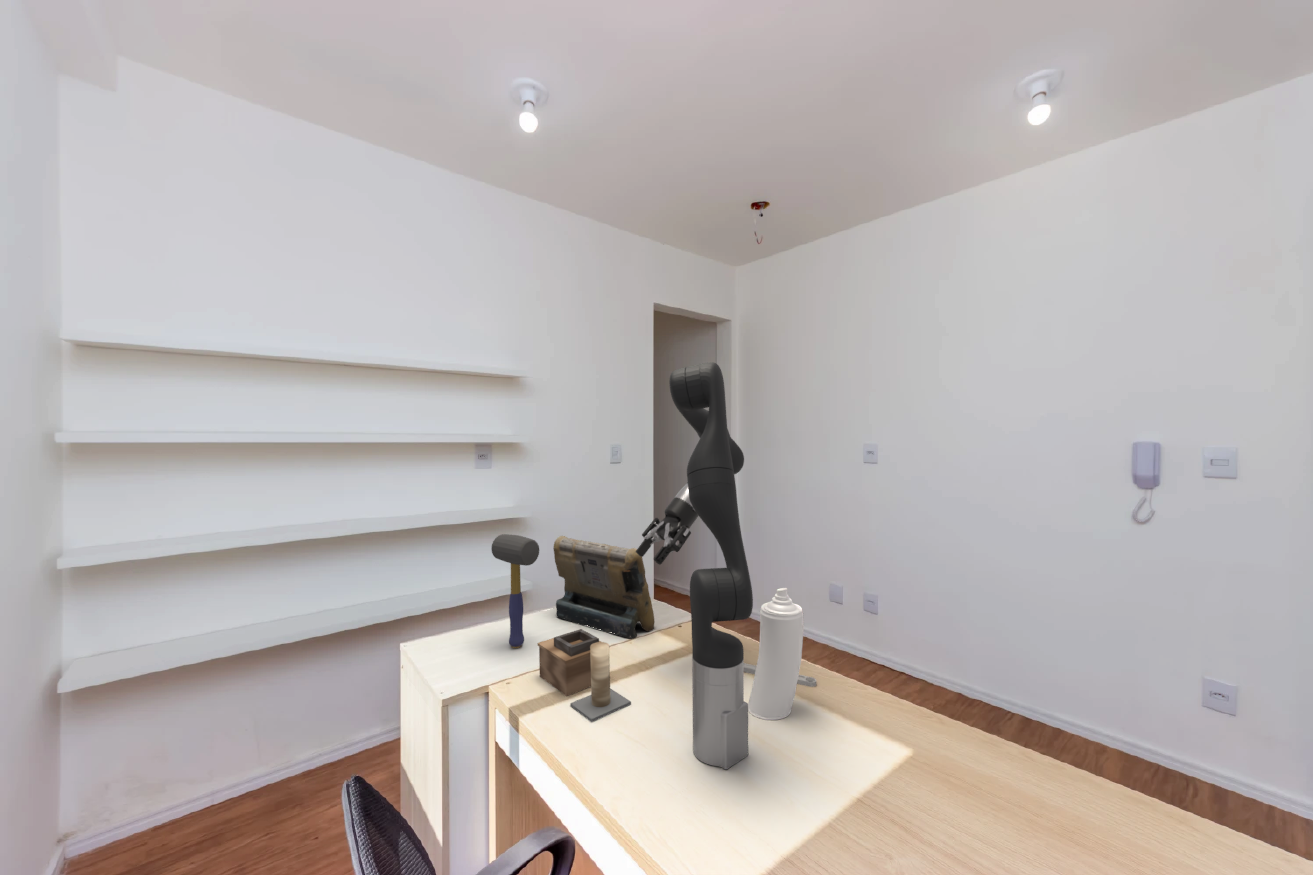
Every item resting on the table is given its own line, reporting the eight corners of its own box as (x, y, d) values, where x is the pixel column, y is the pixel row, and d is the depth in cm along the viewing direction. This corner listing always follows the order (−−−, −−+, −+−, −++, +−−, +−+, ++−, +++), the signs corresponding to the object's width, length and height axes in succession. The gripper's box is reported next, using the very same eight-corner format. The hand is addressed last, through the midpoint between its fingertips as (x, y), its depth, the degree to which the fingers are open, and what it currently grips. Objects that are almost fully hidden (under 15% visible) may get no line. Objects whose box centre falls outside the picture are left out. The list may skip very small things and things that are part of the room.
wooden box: (609, 679, 122) (608, 637, 122) (566, 697, 114) (565, 651, 114) (579, 661, 131) (579, 622, 131) (537, 676, 124) (537, 634, 124)
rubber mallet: (490, 645, 141) (488, 535, 140) (512, 636, 147) (511, 530, 146) (520, 657, 134) (519, 541, 133) (543, 647, 140) (541, 535, 139)
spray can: (760, 688, 118) (760, 577, 117) (808, 700, 112) (808, 584, 112) (741, 712, 108) (741, 592, 107) (792, 727, 102) (792, 601, 102)
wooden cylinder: (614, 701, 111) (613, 645, 111) (600, 709, 108) (599, 651, 108) (601, 695, 114) (599, 640, 114) (587, 702, 111) (586, 646, 111)
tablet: (661, 624, 155) (661, 540, 154) (636, 641, 143) (635, 551, 143) (575, 606, 172) (574, 530, 171) (546, 620, 160) (545, 538, 159)
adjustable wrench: (817, 684, 120) (817, 677, 120) (810, 697, 115) (810, 689, 115) (717, 659, 133) (717, 652, 133) (706, 669, 128) (706, 662, 127)
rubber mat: (631, 704, 111) (631, 701, 111) (591, 722, 105) (591, 719, 105) (608, 689, 117) (608, 687, 117) (570, 705, 111) (570, 703, 111)
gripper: (662, 493, 135) (623, 543, 129) (694, 499, 123) (652, 554, 117) (680, 511, 138) (642, 561, 132) (712, 519, 126) (673, 574, 120)
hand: (647, 558), depth 125 cm, fingers open, 8 cm apart
